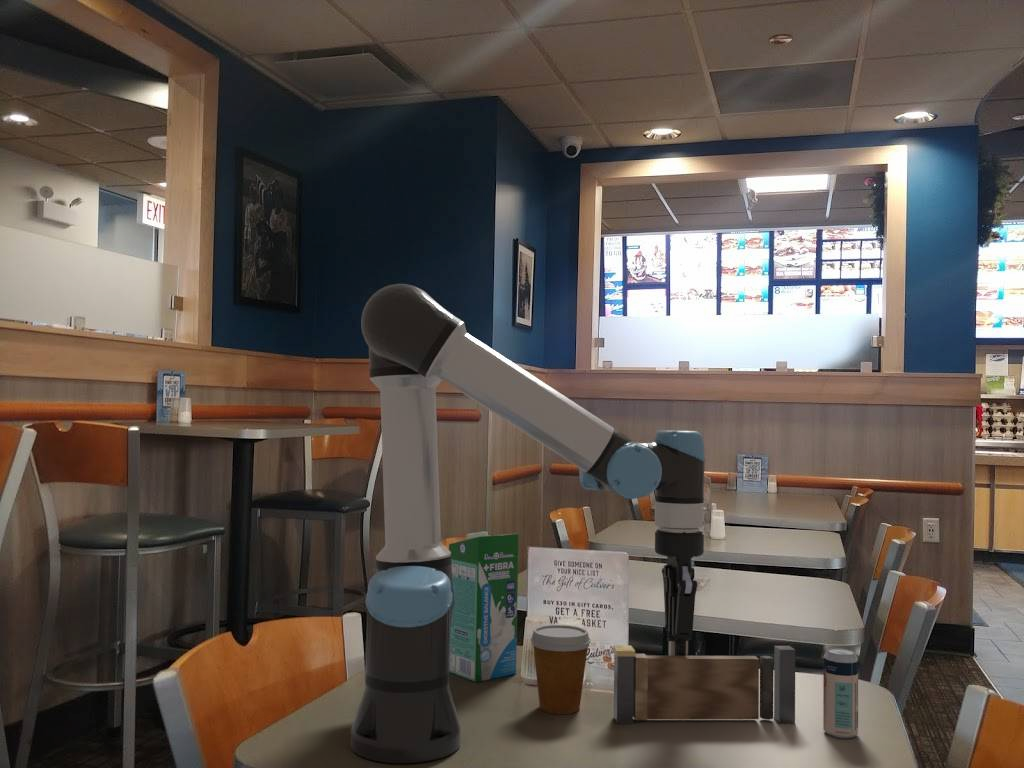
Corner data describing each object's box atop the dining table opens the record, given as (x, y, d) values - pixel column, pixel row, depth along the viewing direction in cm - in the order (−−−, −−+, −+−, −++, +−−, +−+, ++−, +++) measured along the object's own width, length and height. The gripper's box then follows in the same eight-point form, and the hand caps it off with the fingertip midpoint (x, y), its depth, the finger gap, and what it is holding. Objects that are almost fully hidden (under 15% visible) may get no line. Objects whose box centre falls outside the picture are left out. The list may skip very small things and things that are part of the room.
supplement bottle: (842, 727, 135) (842, 646, 135) (865, 737, 130) (865, 654, 131) (816, 730, 133) (816, 648, 134) (838, 741, 129) (839, 656, 129)
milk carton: (485, 663, 167) (488, 527, 168) (516, 674, 160) (519, 532, 161) (445, 671, 162) (448, 530, 163) (476, 682, 155) (479, 536, 156)
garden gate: (770, 714, 139) (770, 654, 139) (775, 719, 136) (775, 658, 137) (632, 714, 137) (632, 653, 138) (635, 719, 135) (635, 657, 135)
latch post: (615, 724, 134) (616, 651, 135) (612, 716, 138) (612, 645, 138) (634, 724, 134) (635, 651, 135) (630, 716, 138) (631, 645, 138)
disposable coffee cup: (586, 720, 136) (587, 639, 137) (524, 715, 138) (525, 635, 138) (593, 701, 145) (594, 626, 146) (535, 696, 147) (536, 622, 148)
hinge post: (779, 723, 136) (779, 649, 137) (774, 718, 139) (774, 645, 139) (795, 723, 136) (795, 649, 137) (789, 718, 139) (789, 645, 139)
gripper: (714, 534, 134) (713, 694, 134) (692, 524, 147) (691, 670, 147) (664, 534, 134) (663, 694, 133) (647, 523, 147) (645, 670, 146)
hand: (677, 681), depth 140 cm, fingers closed
